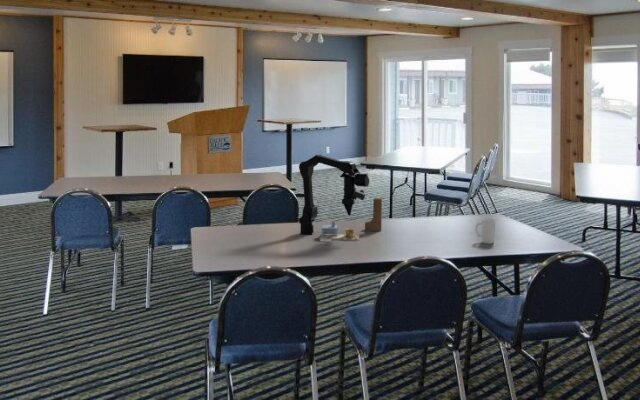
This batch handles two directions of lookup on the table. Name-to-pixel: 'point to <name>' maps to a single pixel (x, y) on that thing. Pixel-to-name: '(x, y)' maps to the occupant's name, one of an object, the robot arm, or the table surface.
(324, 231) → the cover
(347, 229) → the block
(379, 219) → the wooden block
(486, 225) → the mug
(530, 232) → the table surface
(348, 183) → the robot arm
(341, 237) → the board
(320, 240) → the mat
